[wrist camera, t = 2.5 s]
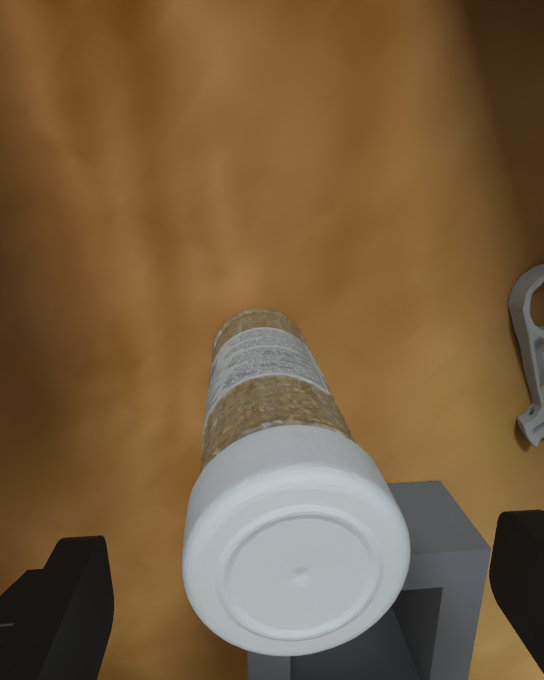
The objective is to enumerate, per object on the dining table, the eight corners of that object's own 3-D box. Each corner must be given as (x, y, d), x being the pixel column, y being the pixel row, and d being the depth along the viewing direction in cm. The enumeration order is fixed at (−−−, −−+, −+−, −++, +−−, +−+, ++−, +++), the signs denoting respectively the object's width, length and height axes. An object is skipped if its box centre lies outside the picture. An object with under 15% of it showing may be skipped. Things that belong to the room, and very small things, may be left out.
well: (246, 645, 27) (250, 741, 22) (242, 492, 23) (244, 566, 18) (420, 629, 27) (460, 718, 23) (440, 480, 24) (490, 548, 19)
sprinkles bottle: (288, 403, 22) (367, 682, 9) (199, 380, 21) (151, 650, 8) (318, 319, 21) (457, 505, 8) (226, 292, 20) (216, 449, 7)
